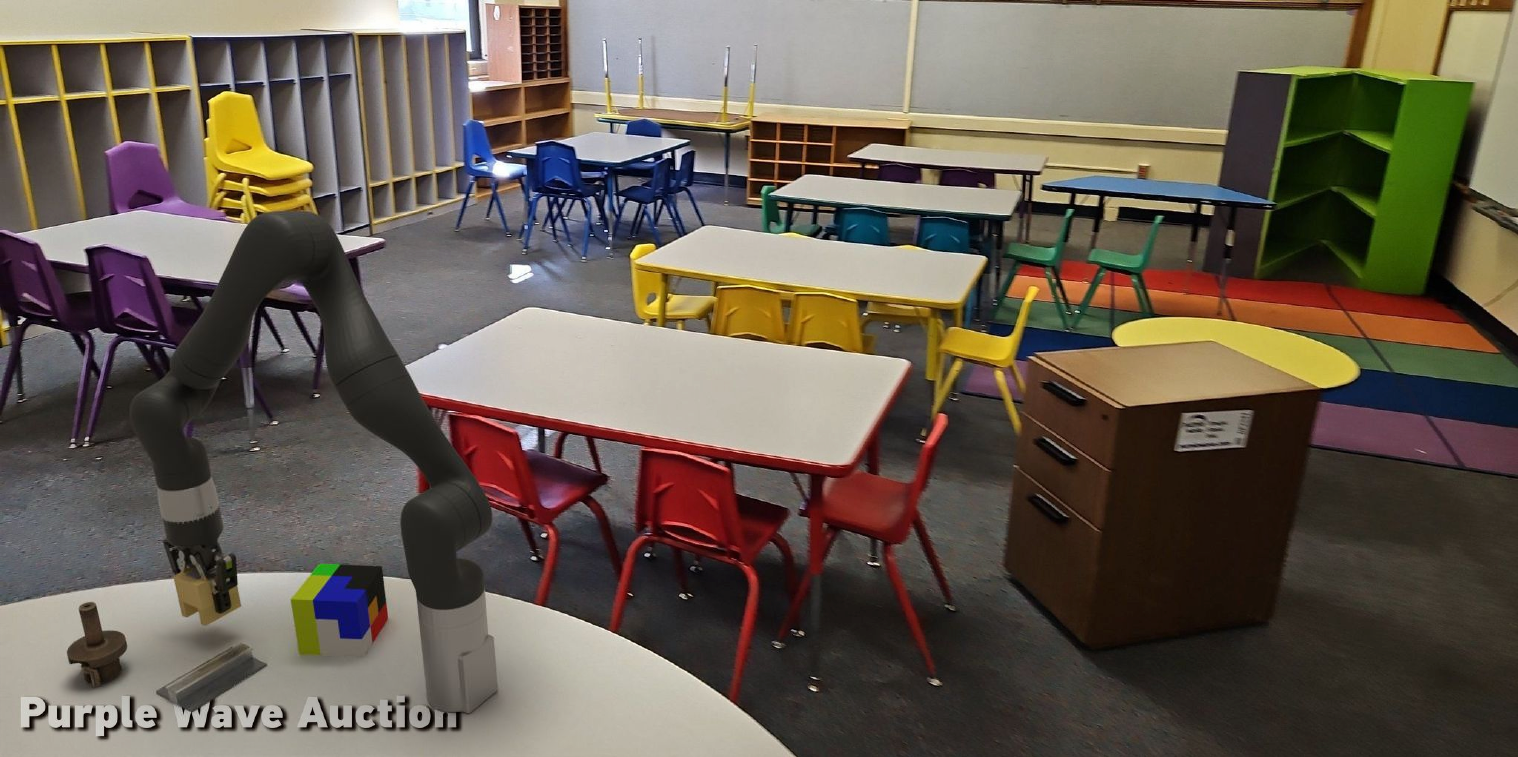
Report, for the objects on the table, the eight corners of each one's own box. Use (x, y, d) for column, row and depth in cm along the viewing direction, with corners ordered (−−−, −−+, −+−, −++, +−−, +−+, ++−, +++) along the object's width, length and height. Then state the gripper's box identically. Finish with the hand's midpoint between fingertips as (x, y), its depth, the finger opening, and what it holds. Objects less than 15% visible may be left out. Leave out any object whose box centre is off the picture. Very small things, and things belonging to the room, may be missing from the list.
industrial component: (101, 696, 142) (84, 625, 138) (60, 687, 144) (41, 616, 140) (153, 656, 151) (138, 589, 147) (114, 648, 152) (97, 581, 148)
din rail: (266, 665, 150) (264, 653, 149) (191, 712, 140) (189, 699, 139) (231, 649, 153) (229, 637, 152) (156, 693, 143) (153, 680, 143)
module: (241, 606, 155) (233, 565, 153) (205, 626, 150) (196, 584, 148) (217, 596, 158) (209, 556, 155) (182, 615, 153) (172, 574, 150)
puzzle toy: (364, 657, 153) (356, 602, 149) (299, 654, 153) (290, 599, 149) (388, 619, 162) (382, 566, 158) (327, 616, 162) (319, 563, 158)
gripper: (245, 508, 148) (263, 605, 154) (183, 487, 154) (202, 581, 160) (198, 530, 141) (219, 631, 147) (135, 507, 148) (157, 604, 154)
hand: (210, 604), depth 154 cm, fingers closed on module, 5 cm apart
